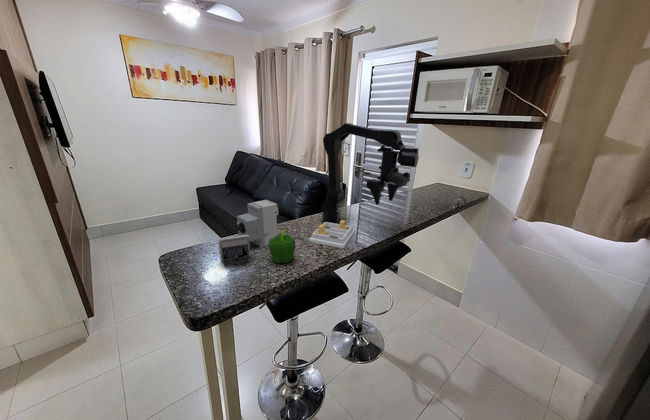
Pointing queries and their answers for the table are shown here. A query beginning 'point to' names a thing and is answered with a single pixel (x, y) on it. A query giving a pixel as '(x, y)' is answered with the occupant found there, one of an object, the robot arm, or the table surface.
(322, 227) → the near tab
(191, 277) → the table surface
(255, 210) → the circuit breaker
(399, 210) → the table surface
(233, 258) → the electrical switch
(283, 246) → the bell pepper
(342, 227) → the far tab
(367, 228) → the table surface
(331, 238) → the switch bank
